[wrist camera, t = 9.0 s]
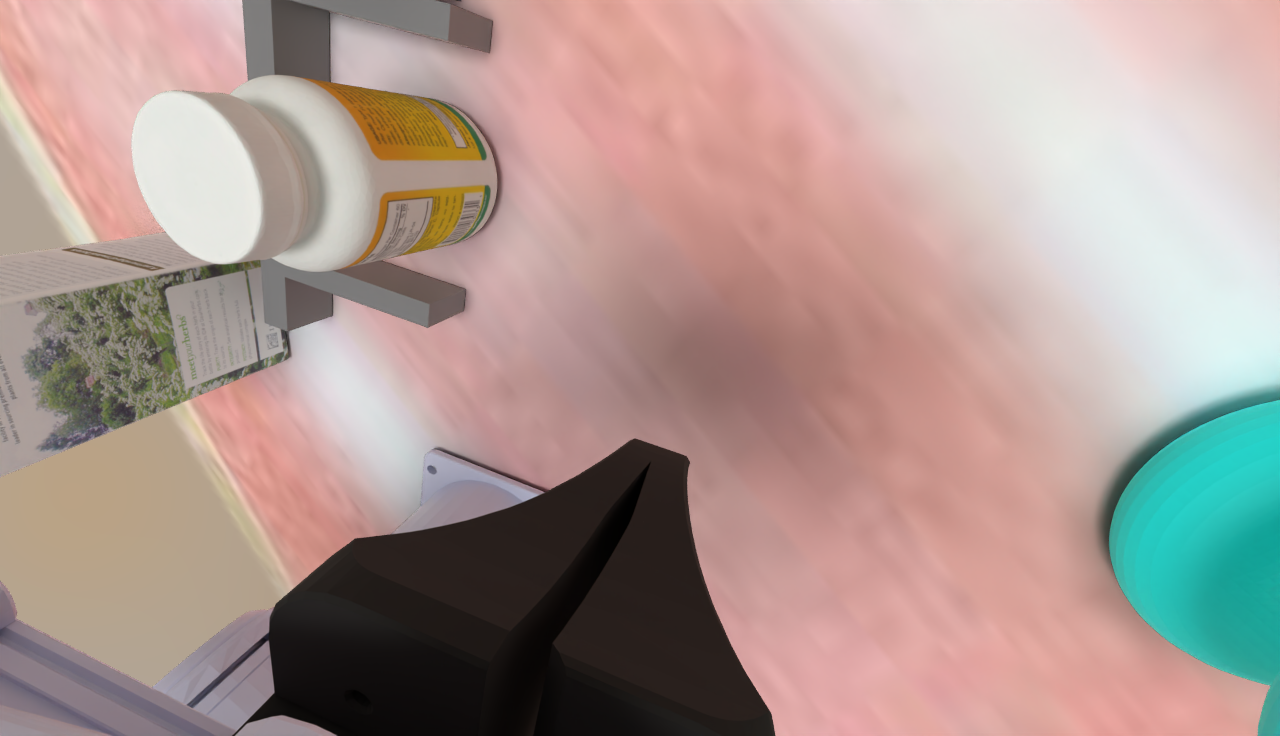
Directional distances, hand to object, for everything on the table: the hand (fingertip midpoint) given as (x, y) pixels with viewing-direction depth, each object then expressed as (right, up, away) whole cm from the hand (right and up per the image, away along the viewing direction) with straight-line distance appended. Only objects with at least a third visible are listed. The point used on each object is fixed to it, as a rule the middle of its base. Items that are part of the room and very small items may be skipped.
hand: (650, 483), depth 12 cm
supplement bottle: (-8, +10, +10) cm, 16 cm away
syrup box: (-20, +6, +15) cm, 26 cm away
